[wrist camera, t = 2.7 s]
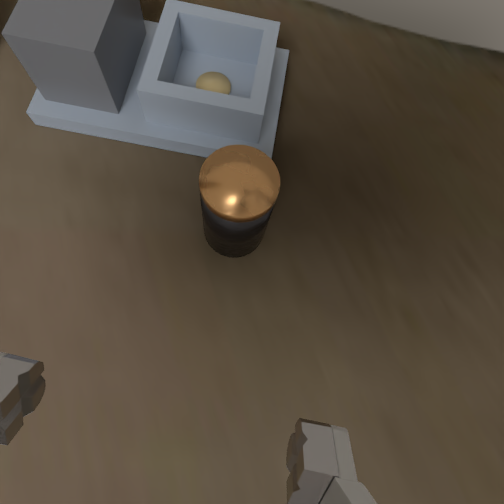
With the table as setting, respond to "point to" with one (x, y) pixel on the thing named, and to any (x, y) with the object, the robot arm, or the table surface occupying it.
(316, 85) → the table surface
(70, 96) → the checker
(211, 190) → the cylinder
